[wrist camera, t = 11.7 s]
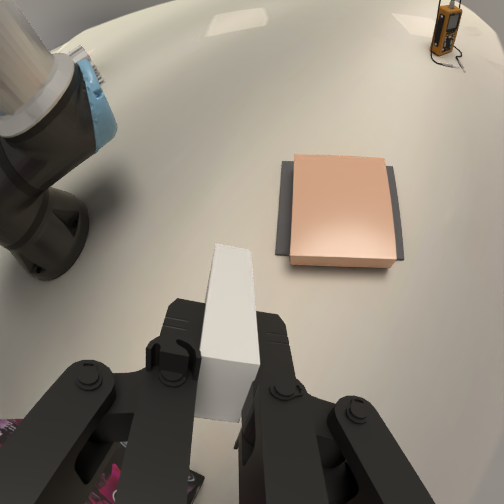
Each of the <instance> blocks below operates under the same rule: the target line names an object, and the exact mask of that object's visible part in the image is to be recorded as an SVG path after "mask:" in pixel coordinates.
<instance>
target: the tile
mask: <svg viewBox="0 0 504 504" xmlns="http://www.w3.org/2000/svg"><path fill="white" fill-rule="evenodd" d="M396 259H397V255H396V243H395V232H394V222H393V213H392V205H391V197H390V190H389V183H388V177H387V170H386V164H385V159H384V158H371V157H355V156H334V155H299V154H294V178H293V204H292V226H291V246H290V261H291V265H312V266H341V267H371V268H390V267H391V266H392V265H393V263H394V262H395V261H396Z"/></svg>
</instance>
